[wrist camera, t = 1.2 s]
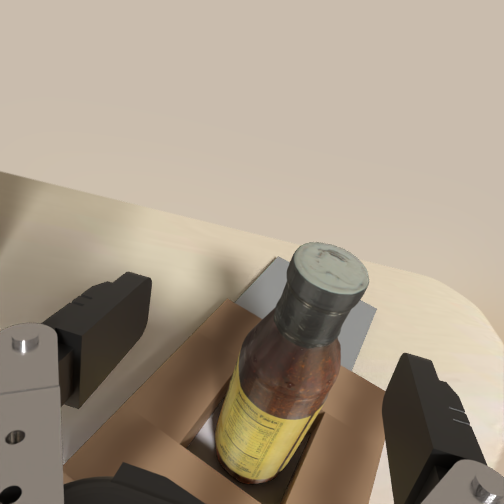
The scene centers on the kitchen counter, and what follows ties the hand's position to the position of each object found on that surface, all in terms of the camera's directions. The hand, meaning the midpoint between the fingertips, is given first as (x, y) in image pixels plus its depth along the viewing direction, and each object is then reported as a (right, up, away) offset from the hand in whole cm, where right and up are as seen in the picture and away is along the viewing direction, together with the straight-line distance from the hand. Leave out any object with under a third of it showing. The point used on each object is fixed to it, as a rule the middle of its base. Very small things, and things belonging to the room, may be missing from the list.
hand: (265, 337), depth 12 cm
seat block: (-1, -13, +19) cm, 23 cm away
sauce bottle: (-1, -13, +19) cm, 24 cm away
